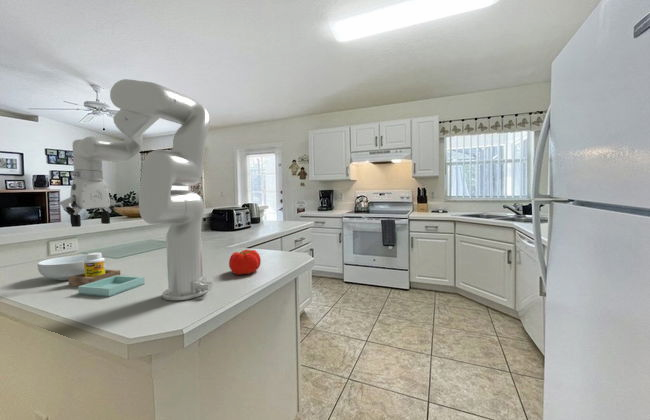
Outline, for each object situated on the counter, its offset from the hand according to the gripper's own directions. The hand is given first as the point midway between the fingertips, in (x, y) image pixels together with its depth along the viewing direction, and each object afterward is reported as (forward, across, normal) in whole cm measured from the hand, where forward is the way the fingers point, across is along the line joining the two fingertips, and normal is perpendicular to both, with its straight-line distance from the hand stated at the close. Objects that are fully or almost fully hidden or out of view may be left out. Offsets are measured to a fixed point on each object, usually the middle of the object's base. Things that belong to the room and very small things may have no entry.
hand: (91, 225), depth 94 cm
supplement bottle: (+21, 0, 0) cm, 21 cm away
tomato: (+21, +20, -47) cm, 55 cm away
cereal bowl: (+21, +3, +16) cm, 26 cm away
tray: (+20, -5, -14) cm, 25 cm away
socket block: (+20, 0, 0) cm, 20 cm away
